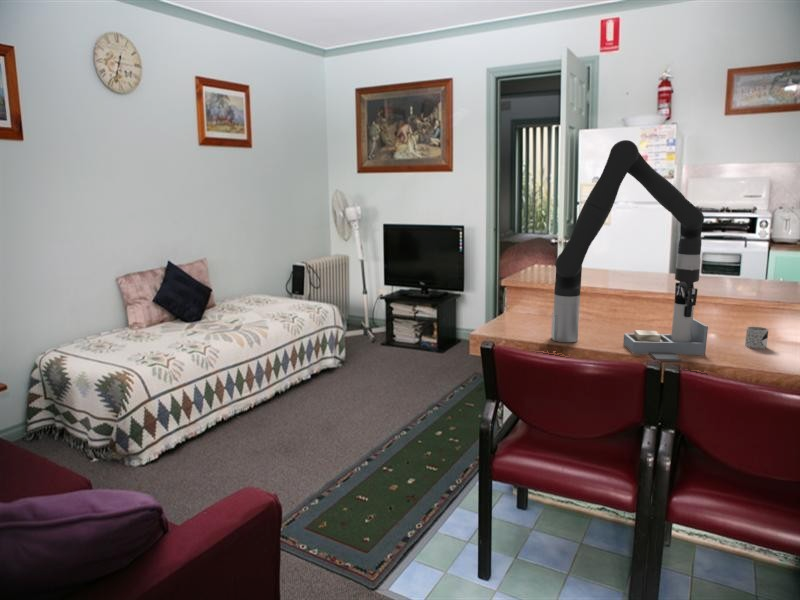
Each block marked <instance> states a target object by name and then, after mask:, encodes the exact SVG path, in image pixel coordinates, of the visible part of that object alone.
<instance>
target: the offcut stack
mask: <svg viewBox="0 0 800 600" xmlns="http://www.w3.org/2000/svg"><path fill="white" fill-rule="evenodd" d="M633 334H634V336H635V337H636V339H635V341H640V342H663V341H662V340H661V339H660V337H661V335H660V332H658V331H656V330H642V329H641V330H639V329H638V330H637V329H636V330H634V332H633Z"/></svg>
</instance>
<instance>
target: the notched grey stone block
mask: <svg viewBox="0 0 800 600" xmlns="http://www.w3.org/2000/svg"><path fill="white" fill-rule="evenodd" d="M768 335H769V329H768V328H766V327H761V326H747V327H746V333H745V341H744V346H745V347H746V348H749V349H754V350H766V349H767V348H768V347H767V346H768V337H769V336H768Z"/></svg>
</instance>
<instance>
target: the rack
mask: <svg viewBox="0 0 800 600" xmlns="http://www.w3.org/2000/svg"><path fill="white" fill-rule="evenodd" d="M708 330H709V326H708V325H706V324H705V323H704V322H701V321H699V320H697V319H696V318H693V322H692V333H691V342H672V341H671V336H672V333H671V334H668V333H667V334H666V333H665V334H664V333H663V334H660V333H659V334H660V335H661V337H660V339H661V340H662V341H663V342H640V341H635V339H636V337H635V336H634V333H623V343H622V344H623V345H624V347H626V349H628V350H629V351H630V352H631V353H632V354H644V355H645V354H646V355H647V354H648V355H649V352H663V353H674V354H675V355H687V356H688V355H690V356H691V355H692V356H693V355H697V356H698V355H699V356H705V355H706V352H707V351H706V350H707V342H708V333H709V331H708Z"/></svg>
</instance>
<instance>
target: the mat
mask: <svg viewBox="0 0 800 600" xmlns="http://www.w3.org/2000/svg"><path fill="white" fill-rule="evenodd" d="M648 355H649V356H650V357H651V358H652V359H653V360H655V361H656V360H659V361H658V362H672V363H673V362H674V363H675V362H678V363H679V362H680V363H681V362H682V361H683V359H682V358H681V357H680V356H678V354H674V353H663V352H649V354H648Z"/></svg>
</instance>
